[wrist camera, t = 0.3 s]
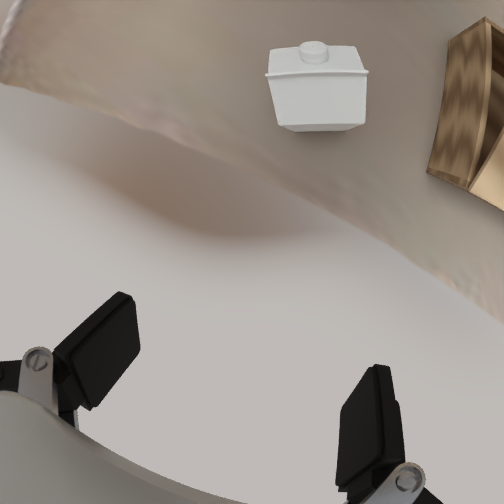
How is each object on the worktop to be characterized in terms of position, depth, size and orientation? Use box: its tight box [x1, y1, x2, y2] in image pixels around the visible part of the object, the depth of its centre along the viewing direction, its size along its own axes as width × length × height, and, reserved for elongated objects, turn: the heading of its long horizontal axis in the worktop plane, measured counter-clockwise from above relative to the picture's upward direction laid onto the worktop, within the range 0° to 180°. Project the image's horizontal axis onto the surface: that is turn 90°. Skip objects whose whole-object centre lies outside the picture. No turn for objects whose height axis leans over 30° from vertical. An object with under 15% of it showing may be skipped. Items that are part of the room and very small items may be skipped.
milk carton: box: [265, 41, 369, 132], centre depth 24 cm, size 7×7×19 cm
